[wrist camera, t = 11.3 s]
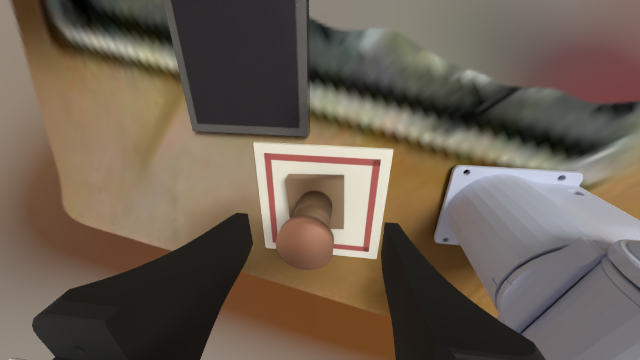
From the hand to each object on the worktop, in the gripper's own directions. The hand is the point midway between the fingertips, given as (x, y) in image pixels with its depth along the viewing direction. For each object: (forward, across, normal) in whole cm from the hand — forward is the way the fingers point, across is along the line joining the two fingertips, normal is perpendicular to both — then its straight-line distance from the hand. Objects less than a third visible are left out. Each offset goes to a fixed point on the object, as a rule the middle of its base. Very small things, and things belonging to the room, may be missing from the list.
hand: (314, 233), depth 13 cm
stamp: (+10, +1, +3) cm, 10 cm away
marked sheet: (+10, +1, +4) cm, 11 cm away
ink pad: (+10, +7, -8) cm, 14 cm away
